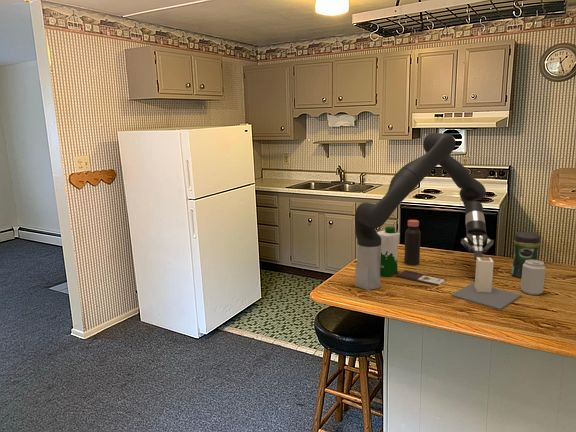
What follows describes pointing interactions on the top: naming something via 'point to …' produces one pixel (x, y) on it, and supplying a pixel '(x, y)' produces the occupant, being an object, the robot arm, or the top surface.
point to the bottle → (412, 243)
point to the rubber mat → (487, 297)
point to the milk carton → (389, 251)
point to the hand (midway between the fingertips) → (478, 260)
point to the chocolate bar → (421, 278)
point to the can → (533, 277)
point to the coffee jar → (524, 250)
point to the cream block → (484, 274)
